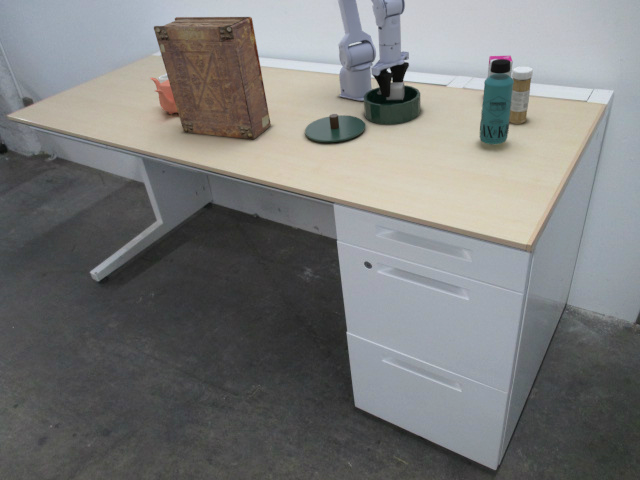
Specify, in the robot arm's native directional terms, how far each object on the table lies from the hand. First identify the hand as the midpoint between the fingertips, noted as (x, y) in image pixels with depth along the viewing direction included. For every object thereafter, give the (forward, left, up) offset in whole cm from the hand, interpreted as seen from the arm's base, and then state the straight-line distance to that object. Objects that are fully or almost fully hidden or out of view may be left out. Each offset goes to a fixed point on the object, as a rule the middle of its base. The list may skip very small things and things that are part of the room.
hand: (391, 93), depth 142 cm
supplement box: (+21, +21, -6) cm, 30 cm away
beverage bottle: (+33, -5, -6) cm, 34 cm away
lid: (-7, -17, -5) cm, 19 cm away
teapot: (-63, -29, -6) cm, 70 cm away
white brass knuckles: (-89, -9, -6) cm, 90 cm away
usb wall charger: (0, 0, -2) cm, 2 cm away
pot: (0, 0, -6) cm, 6 cm away
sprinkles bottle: (+32, +10, -6) cm, 34 cm away
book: (-37, -31, -6) cm, 49 cm away
